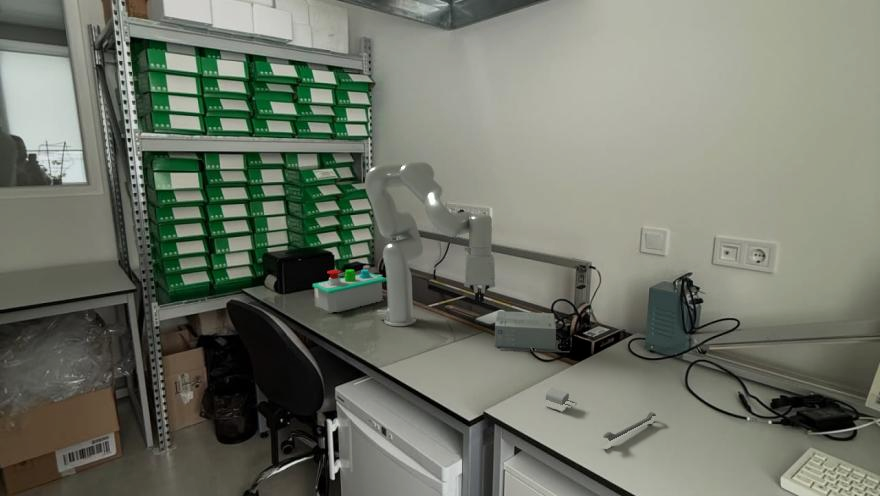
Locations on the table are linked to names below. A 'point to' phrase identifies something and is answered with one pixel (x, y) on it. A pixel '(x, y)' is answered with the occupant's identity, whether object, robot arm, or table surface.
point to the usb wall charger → (558, 396)
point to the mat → (529, 349)
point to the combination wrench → (613, 436)
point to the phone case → (488, 319)
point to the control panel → (349, 290)
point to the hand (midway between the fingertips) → (479, 303)
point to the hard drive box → (525, 330)
